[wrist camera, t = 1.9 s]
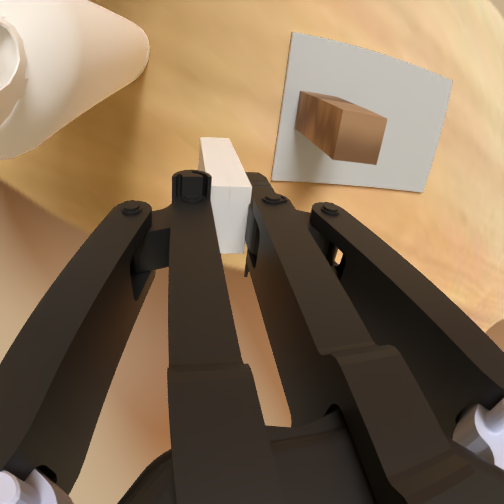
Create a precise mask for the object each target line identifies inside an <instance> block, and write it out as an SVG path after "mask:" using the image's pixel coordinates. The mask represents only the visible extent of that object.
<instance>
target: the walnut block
mask: <svg viewBox="0 0 504 504" xmlns="http://www.w3.org/2000/svg"><path fill="white" fill-rule="evenodd" d="M386 124H387V118H385V117H383V116H381V115H379V114H376V113H374V112H372V111H370V110H367V109H365V108H363V107H360V106H358V105H356V104H353V103H351V102H349V101H346V100H344V99H341V98H339V97H336V96H330V95H324V94H319V93H312V92H306V91H300V94H299V101H298V107H297V114H296V120H295V126H294V128H295V129H296V130H297V131H299V132H300V133H301V134H302V135H304V136H305V137H306V138H307V139H309V140H310V141H311V142H312V143H313V144H315V145H316V146H317V147H318V148H319V149H321V150H322V151H323V152H324V153H325V154H327V155H328V156H329V157H330V158H331V159H332V160H338V161H347V162H356V163H364V164H372V165H376V164H377V161H378V157H379V153H380V149H381V145H382V141H383V136H384V132H385V128H386Z"/></svg>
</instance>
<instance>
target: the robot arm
mask: <svg viewBox="0 0 504 504" xmlns="http://www.w3.org/2000/svg"><path fill="white" fill-rule="evenodd" d="M245 241H246V244H247V247H248V250H247V257H246V265H245V273H244V274H245V275H244V276H245V277H247V275H248V272H249V271H250V275H251V278H252V282H253V285H254V289H255V292H256V295H257V299H258V303H259V306H260V309H261V313H262V317H263V320H264V324H265V327H266V331H267V334H268V337H269V341H270V344H271V348H272V351H273V355H274V358H275V361H276V365H277V368H278V372H279V375H280V378H281V382H282V385H283V389H284V392H285V396H286V399H287V403H288V406H289V409H290V413H291V420H292V425H291V428H290V427H276V426H265V423H264V419H263V415H262V411H261V407H260V403H259V399H258V395H257V391H256V386H255V382H254V378H253V375H252V371H251V368H250V367H249V365H248V364H244V363H243V361H242V358H241V353H240V349H239V344H238V339H237V334H236V330H235V325H234V320H233V315H232V310H231V305H230V300H229V295H228V290H227V285H226V281H225V275H224V270H223V264H222V259H221V254H235V253H244V250H245ZM338 249H339V250H340V251H342V253H343V256H342V259H341V262H340V264H339V265H338V264H337V263H336V262H335V261H334V260H335V257H336V254H337V251H338ZM164 267H169V288H168V289H169V290H168V292H169V294H168V338H169V368H168V371H167V379H168V404H169V421H170V436H171V449H170V450H169V451H167V452H165V453H163V454H162V455H160V456H159V457H158V458H156V459H155V460H154V461H153V462H152V463H151V464H150V465H149V466H147V467H146V469H145V470H144V471H143V472H142V473H141V474H140V476H139V477H138V478H137V480H136V481H135V482H134V483H133V485H132V486H131V487H130V488H129V490H128V491H127V492H126V493H125V495H124V496H123V497H122V498H121V500H120V501H119V502H118V503H117V504H504V352H503V351H502V350H500V348H499V347H498V346H497V345H496V344H495V343H494V342H493V341H492V340H491V339H490V338H489V337H488V336H487V335H486V334H485V333H484V332H483V331H482V330H481V329H480V328H479V327H478V326H477V325H476V324H475V323H474V322H473V321H472V320H471V319H470V318H469V317H468V316H467V315H466V314H465V313H464V312H463V311H462V310H461V309H460V308H459V307H458V306H457V305H456V304H455V303H453V302H452V301H451V300H450V299H449V298H448V297H447V296H446V295H445V294H444V293H443V292H442V291H441V290H439V289H438V288H437V287H436V286H435V285H434V284H433V283H432V282H431V281H430V280H428V279H427V278H426V277H425V276H424V275H423V274H422V273H421V272H419V271H418V270H417V269H416V268H415V267H414V266H413V265H411V264H410V263H409V262H408V261H407V260H406V259H404V258H403V257H402V256H401V255H400V254H399V253H397V252H396V251H395V250H394V249H393V248H391V247H390V246H389V245H388V244H387V243H385V242H384V241H383V240H382V239H381V238H379V237H378V236H377V235H376V234H374V233H373V232H372V231H371V230H369V229H368V228H367V227H366V226H364V225H363V224H362V223H361V222H359V221H358V220H357V219H356V218H354V217H353V216H352V215H351V214H349V213H348V212H347V211H345V210H344V209H342V208H341V207H339V206H337V205H335V204H333V203H329V202H324V203H323V202H319V203H315V204H314V205H313V206H312V210H311V213H308V212H303V211H298V210H296V209H295V208H294V206H293V205H292V203H291V202H290V200H289V199H288V198H286V197H285V196H282V195H280V194H276V193H275V192H274V190H273V188H272V187H271V185H270V183H269V182H268V180H267V178H266V177H265V176H263V175H262V174H260V173H254V172H245V171H244V169H243V167H242V164H241V162H240V160H239V158H238V156H237V154H236V152H235V150H234V148H233V146H232V144H231V141H230V139H229V138H213V137H200V148H199V165H198V170H184V171H179V172H177V173H175V174H174V175H173V176H172V204H171V205H170V206H168V207H166V208H164V209H161V210H157V211H152V208H151V206H150V205H149V204H148V203H146V202H142V201H134V200H131V201H125V202H124V203H121V204H118V205H117V206H116V207H114V208H113V209H112V210H111V212H110V213H109V214H108V215H107V216H106V217H105V219H104V220H103V221H102V222H101V223H100V224H99V226H98V227H97V228H96V229H95V230H94V232H93V233H92V234H91V235H90V236H89V238H88V239H87V240H86V241H85V242H84V244H83V245H82V246H81V247H80V249H79V250H78V251H77V253H76V254H75V255H74V257H73V258H72V259H71V260H70V261H69V263H68V264H67V265H66V267H65V268H64V269H63V271H62V272H61V273H60V275H59V276H58V277H57V279H56V280H55V281H54V283H53V284H52V285H51V287H50V288H49V290H48V291H47V293H46V294H45V295H44V297H43V298H42V299H41V301H40V302H39V304H38V305H37V307H36V308H35V310H34V311H33V313H32V314H31V316H30V317H29V319H28V320H27V322H26V323H25V325H24V326H23V328H22V329H21V331H20V332H19V334H18V336H17V337H16V339H15V341H14V342H13V344H12V345H11V347H10V348H9V350H8V352H7V353H6V355H5V357H4V359H3V360H2V362H1V364H0V504H74V503H73V502H72V500H71V498H70V497H69V496H68V495H69V493H70V492H71V490H72V488H73V486H74V483H75V482H76V480H77V478H78V476H79V474H80V470H81V468H82V465H83V463H84V460H85V457H86V454H87V451H88V448H89V445H90V441H91V439H92V435H93V432H94V429H95V427H96V423H97V420H98V417H99V415H100V412H101V409H102V406H103V403H104V401H105V398H106V395H107V392H108V390H109V387H110V384H111V381H112V379H113V376H114V374H115V371H116V368H117V366H118V363H119V361H120V358H121V356H122V353H123V351H124V348H125V346H126V343H127V341H128V338H129V336H130V333H131V331H132V328H133V326H134V323H135V321H136V319H137V316H138V314H139V312H140V309H141V307H142V305H143V302H144V300H145V298H146V295H147V293H148V291H149V289H150V287H151V284H152V282H153V280H154V278H155V270H156V269H160V268H164Z"/></svg>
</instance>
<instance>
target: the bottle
mask: <svg viewBox="0 0 504 504" xmlns="http://www.w3.org/2000/svg"><path fill="white" fill-rule="evenodd" d="M149 53H150V46H149V41H148V37H147V36H146V34H145V32H144V31H143V29H142V28H140V27H139V26H138V25H136V24H135V23H134V22H132V21H130V20H128V19H126V18H124V17H122V16H120V15H118V14H116V13H114V12H112V11H110V10H108V9H106V8H104V7H101V6H99V5H97V4H95V3H93V2H91V1H88V0H0V160H3V159H14V158H16V157H18V156H21V155H23V154H25V153H27V152H30V151H32V150H34V149H36V148H37V147H38V146H40V145H41V144H42V143H43V142H45V141H46V140H47V139H48V138H50V137H51V136H52V135H54V134H55V133H56V132H58V131H59V130H60V129H62V128H63V127H64V126H66V125H67V124H68V123H70V122H71V121H73V120H74V119H75V118H77V117H78V116H80V115H81V114H83V113H84V112H86V111H87V110H89V109H90V108H92V107H93V106H95V105H96V104H98V103H99V102H101V101H102V100H104V99H106V98H107V97H109V96H110V95H112V94H114V93H115V92H117V91H119V90H120V89H122V88H124V87H125V86H127V85H128V84H130V83H131V82H133V81H135V80H136V79H137V78H138V76H139V75H140V74H141V73H142V72H143V71H144V69H145V67H146V65H147V62H148V60H149Z"/></svg>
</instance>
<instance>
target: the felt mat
mask: <svg viewBox="0 0 504 504" xmlns="http://www.w3.org/2000/svg"><path fill="white" fill-rule="evenodd" d="M452 82H453V81H452V80H450V79H448V78H445V77H443V76H441V75H438V74H436V73H434V72H431V71H429V70H426V69H424V68H421V67H419V66H416V65H413V64H411V63H408V62H405V61H402V60H399V59H396V58H394V57H391V56H388V55H384V54H381V53H378V52H375V51H372V50H368V49H365V48H361V47H358V46H354V45H350V44H347V43H343V42H339V41H334V40H330V39H326V38H321V37H317V36H312V35H307V34H302V33H296V32H292V35H291V42H290V49H289V56H288V63H287V71H286V78H285V85H284V92H283V99H282V106H281V113H280V120H279V127H278V134H277V141H276V148H275V154H274V161H273V168H272V175H271V180H273V181H294V182H312V183H327V184H341V185H354V186H365V187H376V188H386V189H396V190H405V191H414V192H422V193H423V191H424V188H425V185H426V181H427V178H428V175H429V172H430V169H431V165H432V162H433V159H434V155H435V152H436V148H437V145H438V141H439V137H440V134H441V130H442V126H443V122H444V118H445V114H446V110H447V105H448V101H449V97H450V92H451V87H452ZM300 91H306V92H312V93H319V94H324V95H330V96H336V97H339V98H341V99H344V100H346V101H349V102H351V103H353V104H356V105H358V106H360V107H363V108H365V109H367V110H370V111H372V112H374V113H376V114H379V115H381V116H383V117H385V118H387V124H386V128H385V132H384V136H383V141H382V145H381V149H380V153H379V157H378V161H377V164H376V165H372V164H364V163H356V162H347V161H338V160H332V159H331V158H330V157H329V156H328V155H327V154H325V153H324V152H323V151H322V150H321V149H319V148H318V147H317V146H316V145H315V144H313V143H312V142H311V141H310V140H309V139H307V138H306V137H305V136H304V135H302V134H301V133H300V132H299V131H297V130H296V129H295V128H294V126H295V120H296V114H297V107H298V101H299V94H300Z"/></svg>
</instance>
